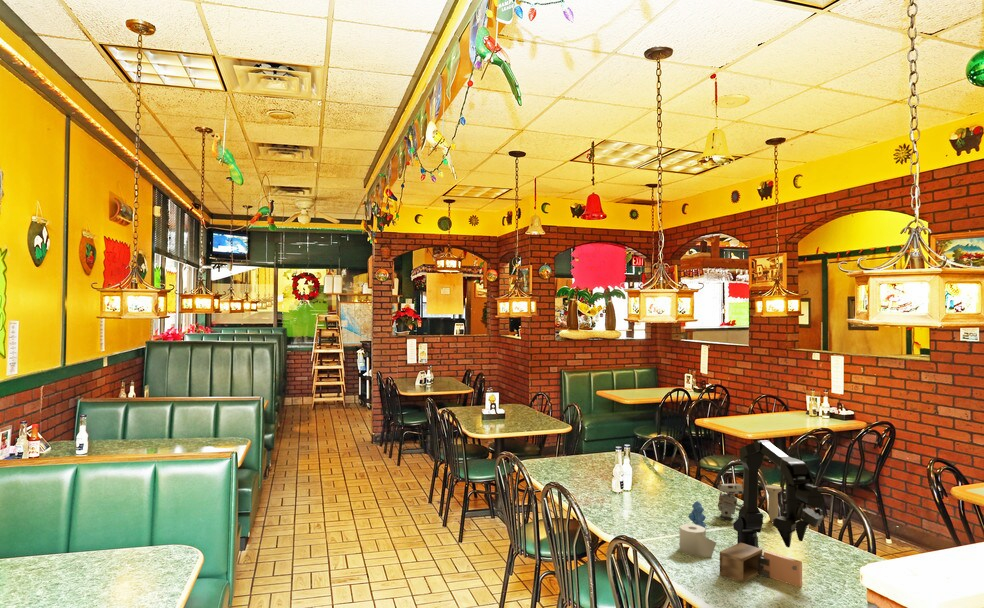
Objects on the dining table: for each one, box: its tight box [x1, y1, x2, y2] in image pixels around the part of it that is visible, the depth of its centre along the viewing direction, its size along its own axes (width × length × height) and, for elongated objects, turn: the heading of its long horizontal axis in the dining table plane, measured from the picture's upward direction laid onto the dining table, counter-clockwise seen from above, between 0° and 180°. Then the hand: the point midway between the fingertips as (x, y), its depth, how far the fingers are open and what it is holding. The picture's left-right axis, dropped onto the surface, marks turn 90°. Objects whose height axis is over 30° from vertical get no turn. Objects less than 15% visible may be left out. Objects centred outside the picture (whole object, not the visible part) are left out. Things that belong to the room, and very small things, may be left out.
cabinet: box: [719, 542, 763, 584], centre depth 207 cm, size 8×14×8 cm, turn 129°
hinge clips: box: [758, 553, 770, 579], centre depth 207 cm, size 4×5×6 cm
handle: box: [764, 484, 782, 523], centre depth 262 cm, size 5×6×15 cm
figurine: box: [717, 482, 744, 521], centre depth 267 cm, size 9×12×15 cm
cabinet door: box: [763, 550, 803, 588], centre depth 202 cm, size 12×2×8 cm, turn 40°
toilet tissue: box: [679, 523, 717, 558], centre depth 227 cm, size 9×13×9 cm
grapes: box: [687, 500, 707, 529], centre depth 249 cm, size 12×7×12 cm, turn 178°
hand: (794, 544), depth 205 cm, fingers open, 9 cm apart
